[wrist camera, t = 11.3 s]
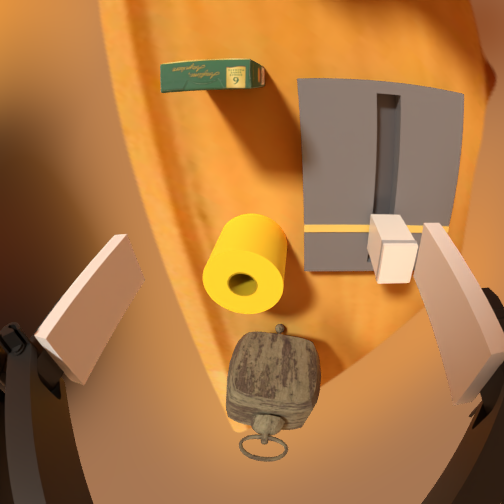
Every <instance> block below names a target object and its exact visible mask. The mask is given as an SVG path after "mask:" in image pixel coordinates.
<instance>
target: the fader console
mask: <svg viewBox="0 0 504 504" xmlns="http://www.w3.org/2000/svg"><path fill="white" fill-rule="evenodd" d="M297 83H298V95H299V109H300V125H301V143H302V164H303V193H304V271H374V269H373V266H372V262H371V259H370V256H369V253H368V249H367V244H368V236H369V226H370V216H371V214H389V215H400V216H401V217H402V219H403V221H404V222H405V224H406V226H407V227H408V229H409V231H410V232H411V234H412V236H413V238H414V239H415V240H416V242H417V245H418V249H417V254H416V258H415V263H414V267H413V270H415V266H416V262H417V257H418V252H419V247H420V242H421V236H422V231H423V225H424V223H440V224H441V226H442V227H443V228H444V230H445V231H446V233H448V230H449V223H450V218H451V213H452V208H453V203H454V197H455V191H456V185H457V179H458V172H459V164H460V155H461V145H462V133H463V115H464V94H462V93H457V92H452V91H447V90H442V89H436V88H431V87H424V86H418V85H411V84H403V83H394V82H385V81H373V80H358V79H329V78H308V79H297Z"/></svg>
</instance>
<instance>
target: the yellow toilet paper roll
mask: <svg viewBox="0 0 504 504" xmlns="http://www.w3.org/2000/svg"><path fill="white" fill-rule="evenodd" d="M286 255H287V239H286V236H285V233H284V232H283V230H282V228H281V227H280V226H279V225H278V224H277V223H276V222H275V221H273V220H272V219H270V218H268V217H266V216H263V215H259V214H243V215H239V216H237V217H235V218H233V219H231V220H230V221H229V222H228V223H227V224H226V225H225V226H224V228H223V230H222V232H221V234H220V236H219V238H218V240H217V243H216V245H215V247H214V249H213V251H212V253H211V255H210V258H209V260H208V262H207V264H206V266H205V269H204V272H203V284H204V287H205V289H206V291H207V293H208V294H209V296H210V297H211V298H212V299H213V300H214V301H215V302H216V303H217V304H219V305H220V306H222V307H224V308H226V309H228V310H230V311H233V312H237V313H242V314H255V313H260V312H263V311H266V310H268V309H270V308H271V307H273V306H274V305H275V304H276V303H277V302H278V301H279V299H280V298H281V296H282V293H283V286H284V276H285V266H286Z"/></svg>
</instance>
